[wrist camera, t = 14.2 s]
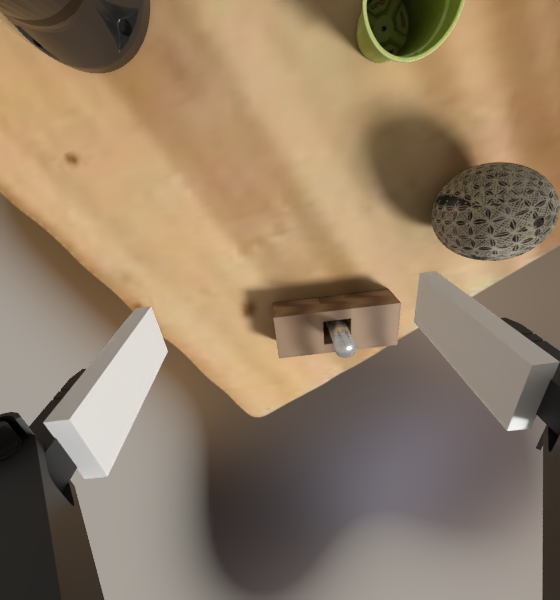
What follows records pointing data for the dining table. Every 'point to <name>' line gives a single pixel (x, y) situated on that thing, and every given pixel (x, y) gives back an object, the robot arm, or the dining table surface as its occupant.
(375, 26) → the plant pot
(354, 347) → the steel peg
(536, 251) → the dining table surface
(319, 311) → the hole block
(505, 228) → the decorative egg
